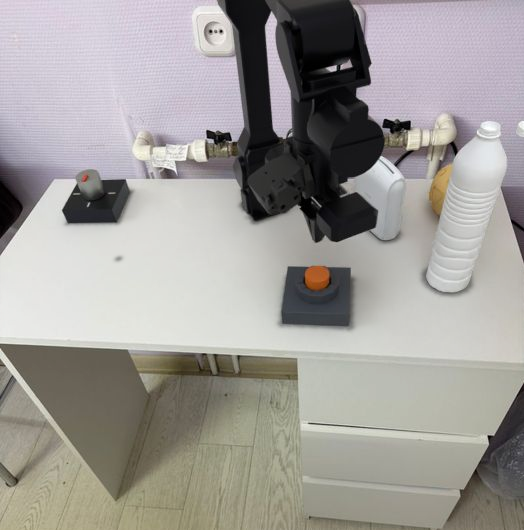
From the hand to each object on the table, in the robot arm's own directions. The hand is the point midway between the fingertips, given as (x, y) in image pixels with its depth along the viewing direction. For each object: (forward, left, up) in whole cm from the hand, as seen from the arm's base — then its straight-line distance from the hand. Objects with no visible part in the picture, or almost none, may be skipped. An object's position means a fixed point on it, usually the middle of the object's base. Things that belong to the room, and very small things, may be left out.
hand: (317, 240), depth 68 cm
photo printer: (-18, -12, -12) cm, 25 cm away
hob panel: (+25, -44, -12) cm, 52 cm away
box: (0, 0, -12) cm, 12 cm away
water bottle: (-21, +6, -12) cm, 25 cm away
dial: (+25, -44, -9) cm, 51 cm away
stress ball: (-31, -7, -12) cm, 34 cm away
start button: (0, 0, -8) cm, 8 cm away
